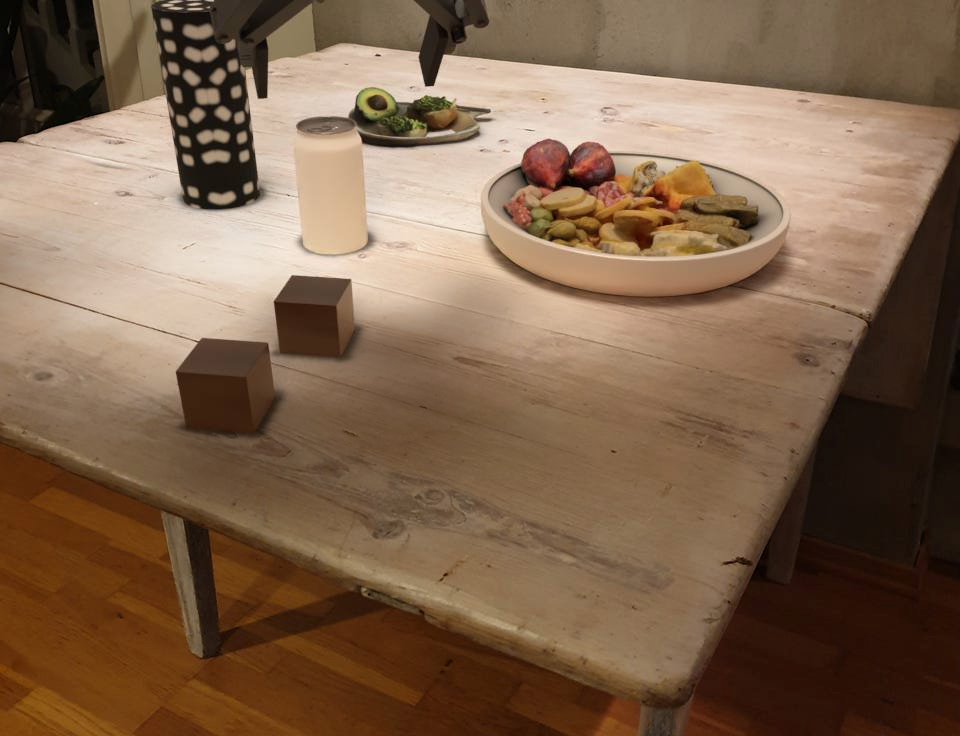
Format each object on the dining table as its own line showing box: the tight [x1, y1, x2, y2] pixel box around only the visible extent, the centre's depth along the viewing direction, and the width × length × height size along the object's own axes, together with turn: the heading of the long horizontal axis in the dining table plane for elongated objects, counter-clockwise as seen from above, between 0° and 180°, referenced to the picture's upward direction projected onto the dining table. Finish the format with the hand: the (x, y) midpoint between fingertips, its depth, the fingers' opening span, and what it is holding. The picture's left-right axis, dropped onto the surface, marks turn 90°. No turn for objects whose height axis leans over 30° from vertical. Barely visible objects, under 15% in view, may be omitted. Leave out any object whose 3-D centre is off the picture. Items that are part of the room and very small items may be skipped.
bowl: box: [480, 138, 792, 298], centre depth 96 cm, size 30×30×8 cm
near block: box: [175, 337, 276, 434], centre depth 69 cm, size 5×5×5 cm
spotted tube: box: [150, 0, 261, 211], centre depth 102 cm, size 8×8×20 cm
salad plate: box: [347, 86, 492, 147], centre depth 129 cm, size 19×18×5 cm
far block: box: [273, 274, 356, 359], centre depth 78 cm, size 5×5×5 cm
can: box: [292, 115, 369, 255], centre depth 94 cm, size 6×6×12 cm
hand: (344, 77), depth 78 cm, fingers open, 13 cm apart
